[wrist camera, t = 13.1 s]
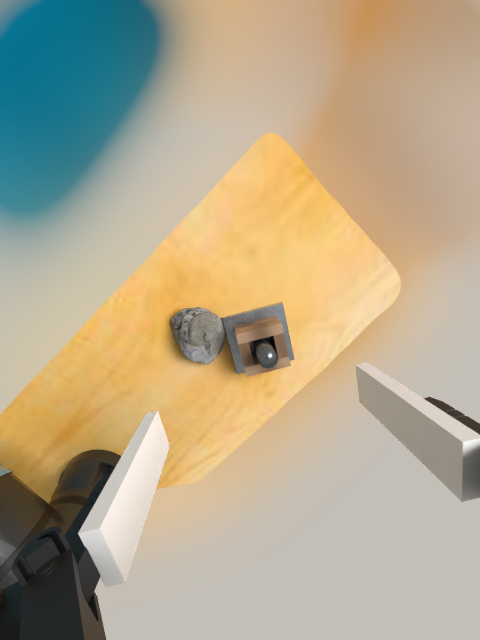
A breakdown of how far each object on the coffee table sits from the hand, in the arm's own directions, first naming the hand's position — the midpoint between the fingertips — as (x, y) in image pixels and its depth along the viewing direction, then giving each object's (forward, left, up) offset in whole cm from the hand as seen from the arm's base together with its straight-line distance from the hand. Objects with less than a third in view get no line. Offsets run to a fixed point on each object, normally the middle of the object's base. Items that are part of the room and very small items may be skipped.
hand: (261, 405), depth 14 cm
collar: (+3, -6, -29) cm, 30 cm away
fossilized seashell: (-9, -1, -30) cm, 32 cm away
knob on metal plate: (+3, -6, -30) cm, 31 cm away
